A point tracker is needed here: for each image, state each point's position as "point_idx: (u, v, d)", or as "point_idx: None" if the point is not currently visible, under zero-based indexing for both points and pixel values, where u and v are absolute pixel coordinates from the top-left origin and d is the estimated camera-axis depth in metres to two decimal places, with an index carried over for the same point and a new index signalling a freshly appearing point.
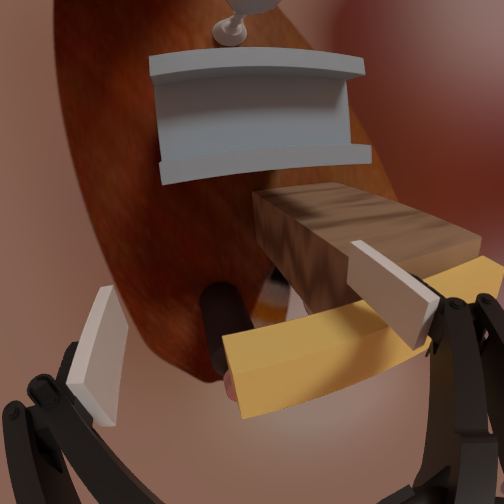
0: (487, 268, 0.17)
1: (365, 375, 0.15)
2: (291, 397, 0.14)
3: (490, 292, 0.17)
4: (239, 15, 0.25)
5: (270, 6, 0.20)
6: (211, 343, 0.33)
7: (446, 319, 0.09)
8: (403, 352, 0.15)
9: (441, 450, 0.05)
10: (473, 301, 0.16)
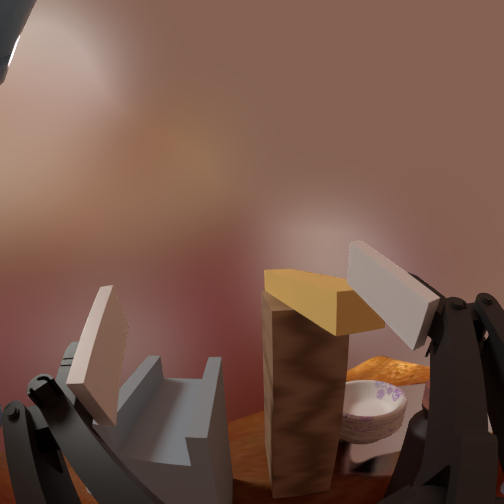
0: (267, 278, 0.39)
1: (335, 278, 0.26)
2: None
3: (280, 270, 0.39)
4: None
5: None
6: None
7: (446, 320, 0.09)
8: (317, 276, 0.28)
9: (440, 450, 0.05)
10: None
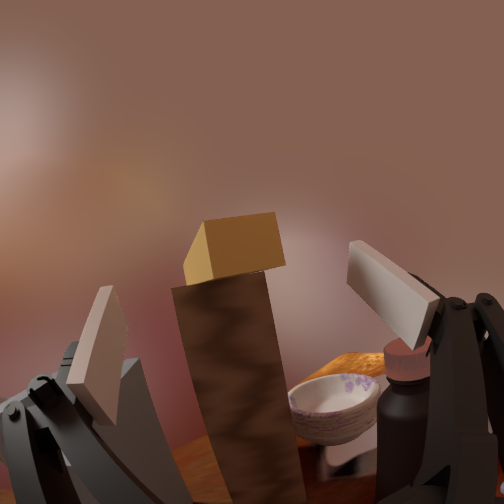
0: (185, 271, 0.35)
1: None
2: None
3: None
4: None
5: None
6: (417, 438, 0.15)
7: (446, 320, 0.09)
8: None
9: (440, 450, 0.05)
10: None
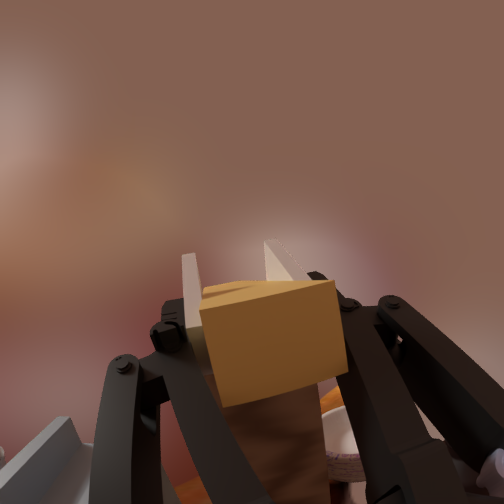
0: None
1: (266, 281, 0.16)
2: (280, 285, 0.11)
3: (221, 284, 0.29)
4: None
5: None
6: None
7: None
8: (247, 283, 0.18)
9: (381, 468, 0.05)
10: (220, 285, 0.26)
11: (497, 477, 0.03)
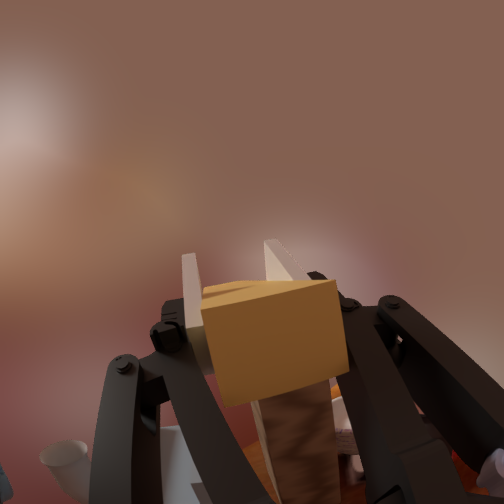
0: None
1: (267, 281, 0.16)
2: (281, 285, 0.11)
3: (221, 284, 0.29)
4: None
5: None
6: None
7: None
8: (248, 283, 0.18)
9: (381, 468, 0.05)
10: (220, 285, 0.26)
11: (497, 477, 0.03)
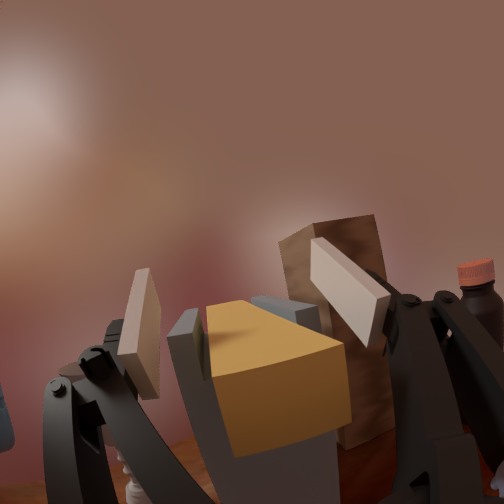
0: None
1: (272, 317, 0.16)
2: (289, 335, 0.11)
3: (223, 305, 0.29)
4: None
5: None
6: (489, 329, 0.21)
7: (400, 319, 0.09)
8: (252, 314, 0.18)
9: (414, 455, 0.05)
10: (223, 308, 0.26)
11: None
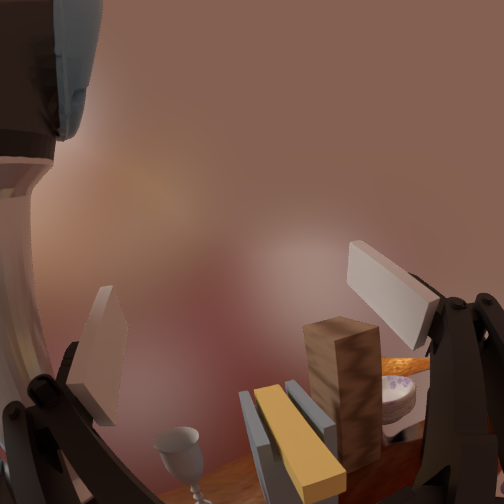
0: (257, 400, 0.38)
1: (312, 433, 0.25)
2: (324, 458, 0.20)
3: (268, 392, 0.38)
4: (197, 487, 0.31)
5: None
6: None
7: (446, 320, 0.09)
8: (298, 423, 0.28)
9: (440, 450, 0.05)
10: (271, 401, 0.35)
11: None
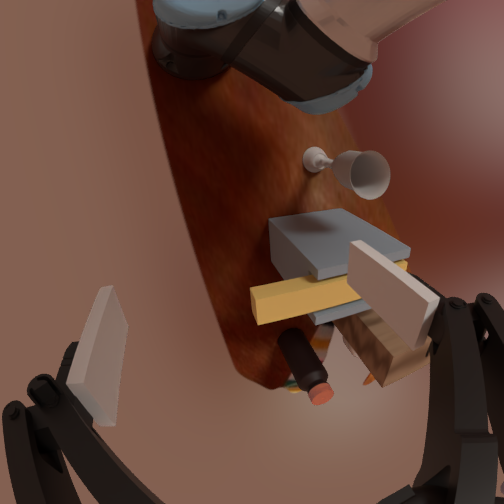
0: (393, 262, 0.39)
1: (313, 309, 0.37)
2: (278, 315, 0.36)
3: None
4: (332, 167, 0.44)
5: (363, 188, 0.39)
6: (298, 372, 0.55)
7: (446, 320, 0.09)
8: (333, 300, 0.37)
9: (440, 450, 0.05)
10: None
11: None
